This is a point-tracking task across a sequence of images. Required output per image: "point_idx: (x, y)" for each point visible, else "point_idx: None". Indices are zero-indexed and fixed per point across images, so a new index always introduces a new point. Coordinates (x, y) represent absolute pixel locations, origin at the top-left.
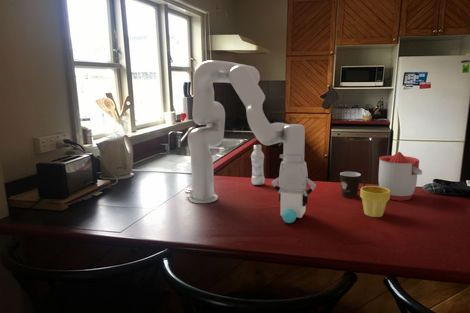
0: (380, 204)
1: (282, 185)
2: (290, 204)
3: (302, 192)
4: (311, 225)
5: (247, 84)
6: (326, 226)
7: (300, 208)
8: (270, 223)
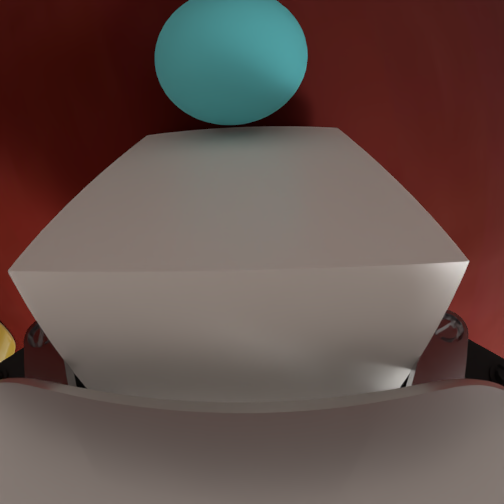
0: None
1: (481, 440)
2: (238, 164)
3: (76, 367)
4: (68, 91)
5: None
6: (6, 130)
7: (118, 162)
8: (376, 6)
